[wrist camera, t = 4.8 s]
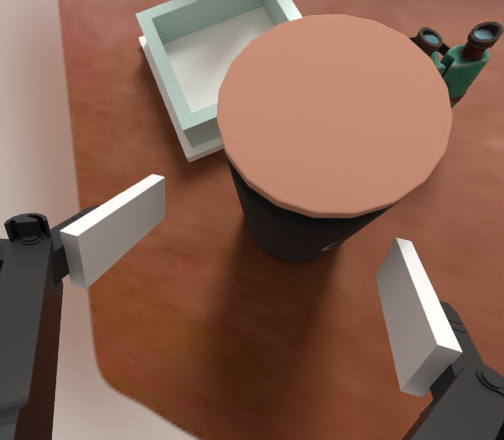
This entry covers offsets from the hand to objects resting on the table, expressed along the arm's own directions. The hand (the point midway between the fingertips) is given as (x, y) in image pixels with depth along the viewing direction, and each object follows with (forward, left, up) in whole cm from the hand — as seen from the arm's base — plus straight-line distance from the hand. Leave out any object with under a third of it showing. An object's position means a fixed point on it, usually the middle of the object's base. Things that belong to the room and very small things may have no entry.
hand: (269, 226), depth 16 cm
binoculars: (+11, -21, -14) cm, 28 cm away
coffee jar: (+3, -4, -14) cm, 15 cm away
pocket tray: (+23, -5, -14) cm, 27 cm away
